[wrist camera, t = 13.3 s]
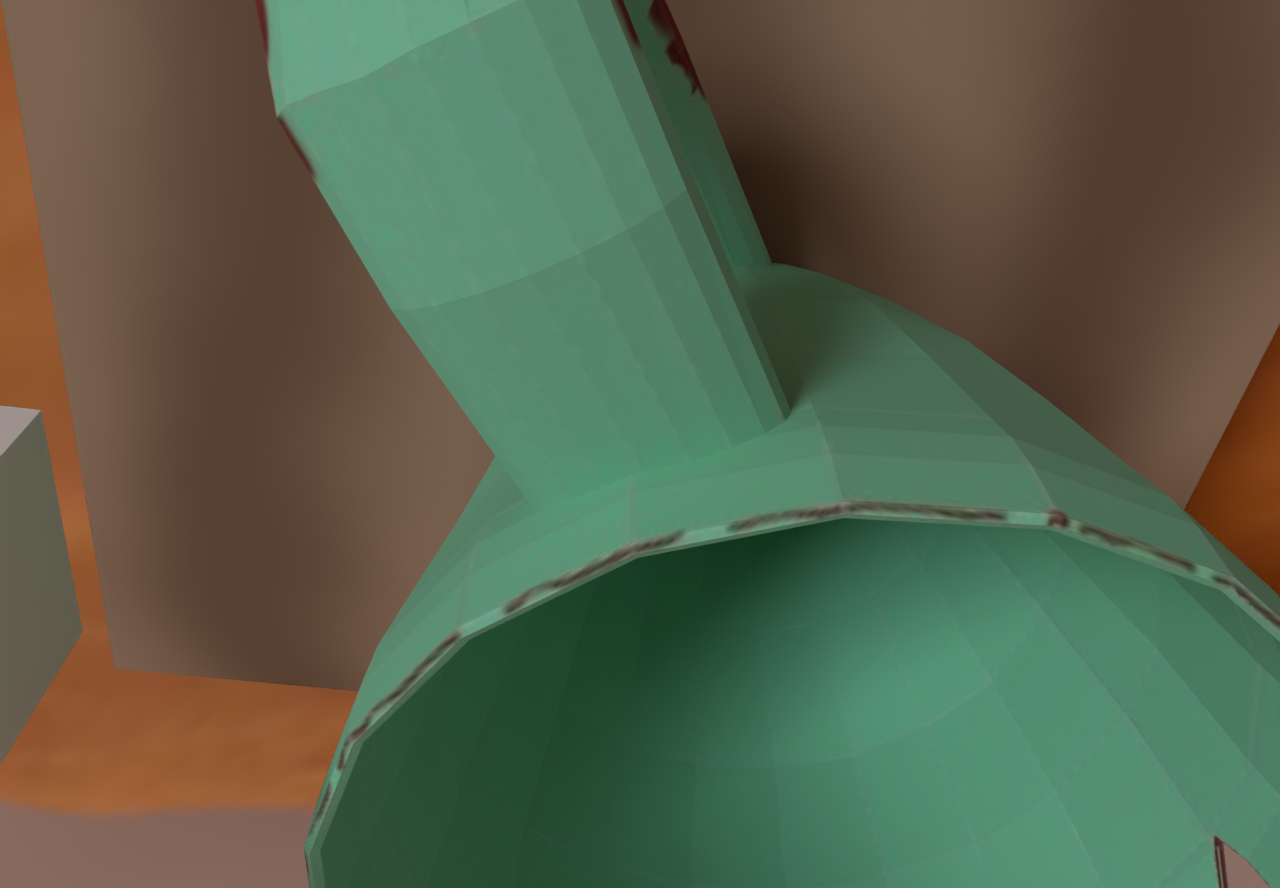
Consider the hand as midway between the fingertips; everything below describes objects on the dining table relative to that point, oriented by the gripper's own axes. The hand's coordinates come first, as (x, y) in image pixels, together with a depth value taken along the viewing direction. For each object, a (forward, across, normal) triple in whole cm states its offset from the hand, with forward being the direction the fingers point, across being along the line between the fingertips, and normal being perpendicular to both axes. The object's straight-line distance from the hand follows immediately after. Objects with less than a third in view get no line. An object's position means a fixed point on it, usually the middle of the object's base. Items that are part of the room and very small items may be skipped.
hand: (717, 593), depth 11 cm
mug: (+8, 0, 0) cm, 8 cm away
